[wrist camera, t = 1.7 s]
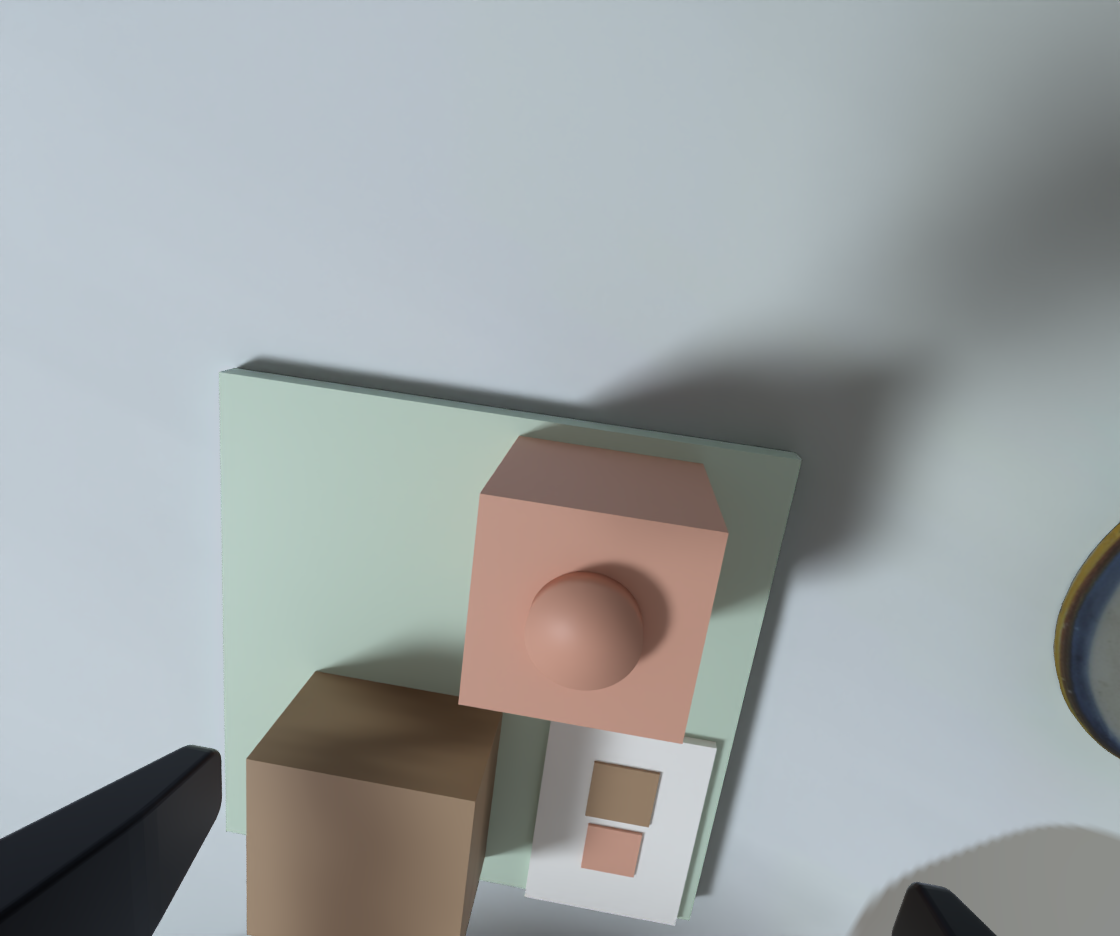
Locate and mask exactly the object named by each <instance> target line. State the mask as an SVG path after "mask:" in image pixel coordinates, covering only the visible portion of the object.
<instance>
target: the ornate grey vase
mask: <svg viewBox="0 0 1120 936" xmlns="http://www.w3.org/2000/svg"><path fill="white" fill-rule="evenodd" d="M1053 649H1054V658H1055V666H1056V671H1057V676H1058V679H1059V683H1060V689H1061V692H1062V694H1063V697H1064V699H1065V701H1066V703H1067V705H1068V707H1069V709H1070V711H1071V712H1072V714H1073V715H1074V716H1075V718H1076V719H1077V720H1078V722H1079V723H1080V724H1081V726H1082V727H1083V728H1084V729H1085V731H1086V732H1087V733H1088V734H1089V735H1090V736H1091V737H1092V738H1093V739H1094V740H1095V741H1096V742H1097V743H1098V744H1099V745H1101V746H1102V747H1103V748H1104V749H1106V750H1107V751H1108V752H1110V753H1111V754H1113V755H1114V756H1116V757H1118V758H1119V759H1120V523H1119V524H1118V525H1117V526H1116V527H1115V528H1114V529H1113V530H1112V531H1111V532H1110V533H1109V534H1108V535H1107V536H1106V537H1105V538H1104V539H1103V540H1102V541H1101V542H1100V543H1099V544H1098V546H1097V547H1096V548H1095V549H1094V550H1093V552H1092V553H1091V554H1090V555H1089V557H1088V558H1087V560H1086V561H1085V562H1084V564H1083V565H1082V567H1081V568H1080V570H1079V571H1078V573H1077V574H1076V576H1075V578H1074V580H1073V581H1072V583H1071V586H1070V588H1069V590H1068V592H1067V594H1066V596H1065V599H1064V601H1063V603H1062V606H1061V609H1060V612H1059V615H1058V619H1057V624H1056V630H1055V639H1054V646H1053Z"/></svg>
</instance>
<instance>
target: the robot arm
mask: <svg viewBox="0 0 1120 936" xmlns="http://www.w3.org/2000/svg"><path fill="white" fill-rule="evenodd" d="M221 801H222V775H221V756H220V753H219V752H218V751H217V750H215V749H212V748H207V747H201V746H196V745H187V746H184V747H182V748H180V749H178V750H176V751H174V752H172V753H170V754H168V755H166V756H164V757H162V758H160V759H158V760H156V761H154V762H152V763H150V764H148V765H146V766H144V767H142V768H140V769H138V770H136V771H134V772H132V773H130V774H128V775H126V776H124V777H122V778H120V779H118V780H116V781H114V782H112V783H110V784H108V785H106V786H104V787H103V788H101V789H99V790H97V791H95V792H93V793H91V794H89V795H87V796H85V797H83V798H81V799H79V800H77V801H75V802H73V803H71V804H69V805H67V806H65V807H63V808H61V809H59V810H57V811H55V812H53V813H51V814H49V815H47V816H45V817H43V818H41V819H39V820H37V821H35V822H33V823H31V824H29V825H27V826H25V827H23V828H21V829H19V830H17V831H15V832H13V833H11V834H9V835H7V836H5V837H4V838H2V839H0V936H152V935H153V933H154V931H155V929H156V928H157V926H158V924H159V922H160V921H161V919H162V917H163V915H164V913H165V912H166V910H167V908H168V906H169V904H170V902H171V901H172V899H173V897H174V895H175V893H176V891H177V890H178V888H179V886H180V884H181V882H182V880H183V879H184V877H185V875H186V873H187V871H188V869H189V868H190V866H191V864H192V862H193V860H194V858H195V857H196V855H197V853H198V851H199V849H200V847H201V846H202V844H203V842H204V840H205V838H206V836H207V835H208V833H209V831H210V829H211V827H212V825H213V824H214V822H215V820H216V818H217V815H218V813H219V810H220V807H221ZM892 936H996V935H995V934H994V933H993V932H992V931H991V930H990V929H989V928H988V927H987V926H986V925H985V924H984V923H983V922H982V921H981V920H980V919H979V918H978V917H977V916H976V915H975V914H974V913H973V912H972V911H971V910H970V909H969V908H968V907H967V906H966V905H965V904H964V903H963V902H962V901H961V900H960V899H959V898H958V897H957V896H956V895H955V894H953V893H952V892H951V891H950V890H948V889H947V888H944V887H941V886H936V885H931V884H925V883H920V882H914V883H912V884H911V885H910V886H909V887H908V889H907V891H906V894H905V896H904V899H903V902H902V904H901V907H900V910H899V913H898V915H897V918H896V921H895V924H894V927H893V930H892Z"/></svg>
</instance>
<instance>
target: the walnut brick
mask: <svg viewBox="0 0 1120 936" xmlns="http://www.w3.org/2000/svg"><path fill="white" fill-rule="evenodd" d="M458 702H459V696H454V695H448V694H442V693H437V692H431V691H425V690H420V689H414V688H408V687H403V686H397V685H391V684H386V683H380V682H375V681H369V680H363V679H358V678H352V677H346V676H341V675H335V674H329V673H324V672H318V671H315V672H314V673H313V675H312V676H311V677H310V679H309V680H308V681H307V682H306V684H305V685H304V686H303V687H302V689H301V690H300V691H299V692H298V694H297V695H296V696H295V698H294V699H293V700H292V701H291V703H290V704H289V705H288V706H287V708H286V709H285V710H284V711H283V713H282V714H281V715H280V717H279V718H278V719H277V720H276V722H275V723H274V724H273V725H272V727H271V728H270V729H269V731H268V732H267V733H266V734H265V736H264V737H263V738H262V739H261V741H260V742H259V743H258V744H257V746H256V747H255V748H254V750H253V751H252V752H251V753H250V755H249V756H248V757H247V758H246V848H247V935H252V936H465V935H466V931H467V927H468V923H469V919H470V915H471V911H472V907H473V903H474V899H475V895H476V891H477V887H478V883H479V879H480V875H481V871H482V867H483V863H484V859H485V853H486V845H487V837H488V829H489V821H490V813H491V805H492V797H493V789H494V781H495V773H496V765H497V757H498V749H499V741H500V733H501V725H502V717H503V712H499V711H493V710H488V709H482V708H476V707H471V706H465V705H459V704H458Z"/></svg>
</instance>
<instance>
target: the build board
mask: <svg viewBox="0 0 1120 936" xmlns="http://www.w3.org/2000/svg"><path fill="white" fill-rule="evenodd" d="M219 404H220V467H221V531H222V594H223V658H224V722H225V785H226V831H228V832H233V833H238V834H244V835H246V758H247V757H248V756H249V755H250V753H251V752H252V751H253V750H254V748H255V747H256V746H257V744H258V743H259V742H260V741H261V739H262V738H263V737H264V736H265V734H266V733H267V732H268V731H269V729H270V728H271V727H272V725H273V724H274V723H275V722H276V720H277V719H278V718H279V717H280V715H281V714H282V713H283V711H284V710H285V709H286V708H287V706H288V705H289V704H290V703H291V701H292V700H293V699H294V698H295V696H296V695H297V694H298V692H299V691H300V690H301V689H302V687H303V686H304V685H305V684H306V682H307V681H308V680H309V679H310V677H311V676H312V675H313V673H314V672H315V671H318V672H324V673H329V674H335V675H341V676H346V677H352V678H358V679H363V680H369V681H375V682H380V683H386V684H391V685H397V686H403V687H408V688H414V689H420V690H425V691H431V692H437V693H442V694H448V695H454V696H459V692H460V682H461V673H462V663H463V653H464V643H465V633H466V624H467V614H468V604H469V594H470V584H471V575H472V565H473V555H474V545H475V535H476V525H477V516H478V506H479V496H480V492H481V491H482V490H483V488H484V487H485V485H486V484H487V482H488V481H489V479H490V478H491V476H492V475H493V473H494V472H495V470H496V469H497V467H498V466H499V464H500V463H501V462H502V460H503V459H504V457H505V456H506V454H507V453H508V451H509V450H510V448H511V447H512V445H513V444H514V442H515V441H516V439H517V438H518V437H519V436H525V437H531V438H538V439H544V440H551V441H558V442H564V443H571V444H577V445H584V446H590V447H597V448H603V449H610V450H616V451H623V452H629V453H636V454H643V455H649V456H656V457H662V458H669V459H675V460H682V461H688V462H695V463H701V464H704V467H705V470H706V473H707V475H708V478H709V481H710V484H711V486H712V489H713V492H714V494H715V497H716V500H717V503H718V505H719V508H720V511H721V513H722V516H723V519H724V522H725V524H726V527H727V530H728V533H729V534H728V539H727V543H726V548H725V552H724V557H723V561H722V566H721V571H720V575H719V580H718V584H717V589H716V593H715V598H714V602H713V607H712V612H711V616H710V621H709V625H708V630H707V634H706V639H705V644H704V648H703V653H702V657H701V662H700V666H699V671H698V676H697V680H696V685H695V689H694V694H693V698H692V703H691V707H690V712H689V717H688V721H687V726H686V730H685V735H684V739H683V744H679V743H673V742H667V741H662V740H656V739H651V738H645V737H639V736H634V735H628V734H622V733H617V732H611V731H606V730H600V729H594V728H589V727H583V726H578V725H572V724H566V723H561V722H555V721H549V720H544V719H538V718H533V717H527V716H521V715H516V714H510V713H504V712H503V717H502V725H501V733H500V741H499V749H498V757H497V765H496V773H495V781H494V789H493V797H492V805H491V813H490V821H489V829H488V837H487V845H486V853H485V859H484V863H483V867H482V871H481V875H480V879H479V880H482V881H487V882H492V883H497V884H502V885H508V886H513V887H518V888H523V889H526V890H525V897H528V898H533V899H538V900H543V901H548V902H553V903H559V904H564V905H569V906H574V907H579V908H584V909H590V910H595V911H600V912H605V913H610V914H615V915H620V916H626V917H631V918H636V919H641V920H646V921H651V922H657V923H662V924H667V925H672V926H675V923H676V919H677V918H678V919H684V920H690V916H691V912H692V908H693V904H694V900H695V896H696V891H697V887H698V883H699V879H700V875H701V871H702V867H703V863H704V859H705V855H706V851H707V847H708V842H709V838H710V834H711V830H712V826H713V822H714V818H715V814H716V810H717V806H718V802H719V797H720V793H721V789H722V785H723V781H724V777H725V773H726V769H727V765H728V761H729V757H730V753H731V748H732V744H733V740H734V736H735V732H736V728H737V724H738V720H739V716H740V712H741V708H742V703H743V699H744V695H745V691H746V687H747V683H748V679H749V675H750V671H751V667H752V663H753V659H754V654H755V650H756V646H757V642H758V638H759V634H760V630H761V626H762V622H763V618H764V614H765V609H766V605H767V601H768V597H769V593H770V589H771V585H772V581H773V577H774V573H775V569H776V565H777V560H778V556H779V552H780V548H781V544H782V540H783V536H784V532H785V528H786V524H787V520H788V515H789V511H790V507H791V503H792V499H793V495H794V491H795V487H796V483H797V479H798V475H799V471H800V466H801V462H802V460H801V459H800V457H799V456H798V455H797V454H796V453H795V452H789V451H782V450H776V449H769V448H762V447H756V446H749V445H742V444H736V443H729V442H723V441H716V440H709V439H703V438H696V437H689V436H683V435H676V434H669V433H663V432H656V431H650V430H643V429H636V428H630V427H623V426H616V425H610V424H603V423H596V422H590V421H583V420H577V419H570V418H563V417H557V416H550V415H543V414H537V413H530V412H524V411H517V410H510V409H504V408H497V407H490V406H484V405H477V404H470V403H464V402H457V401H451V400H444V399H437V398H431V397H424V396H417V395H411V394H404V393H397V392H391V391H384V390H378V389H371V388H364V387H358V386H351V385H344V384H338V383H331V382H325V381H318V380H311V379H305V378H298V377H291V376H285V375H278V374H271V373H265V372H258V371H252V370H245V369H238V368H233V369H229V370H225V371H221V372H219Z"/></svg>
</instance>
